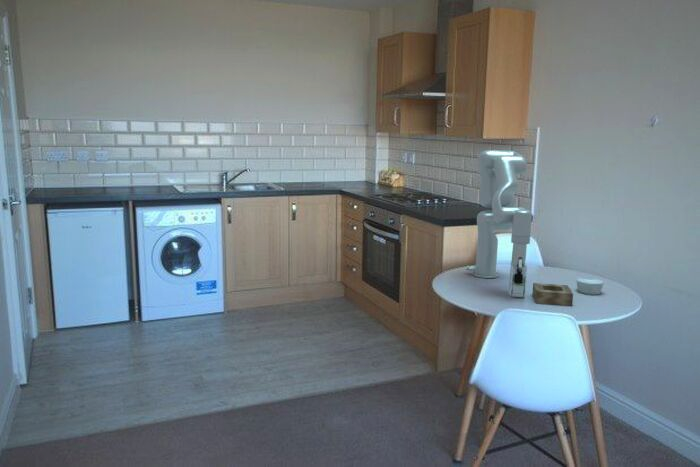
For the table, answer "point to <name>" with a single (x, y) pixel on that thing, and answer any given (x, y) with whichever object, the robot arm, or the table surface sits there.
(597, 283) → the ramekin
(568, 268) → the table surface
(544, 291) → the socket block
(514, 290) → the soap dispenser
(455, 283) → the table surface
